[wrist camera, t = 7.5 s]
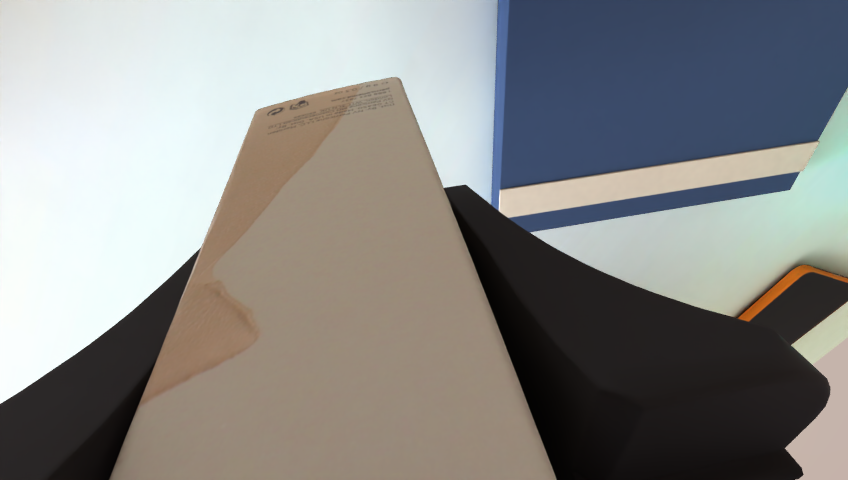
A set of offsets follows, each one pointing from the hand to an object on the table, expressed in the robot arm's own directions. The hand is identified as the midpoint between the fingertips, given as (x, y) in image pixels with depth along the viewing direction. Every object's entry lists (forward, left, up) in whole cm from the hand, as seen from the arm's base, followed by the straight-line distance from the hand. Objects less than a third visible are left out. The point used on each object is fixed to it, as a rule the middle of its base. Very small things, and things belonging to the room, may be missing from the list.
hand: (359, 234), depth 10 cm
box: (0, 0, -4) cm, 4 cm away
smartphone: (-23, -27, -8) cm, 36 cm away
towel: (0, -14, -8) cm, 16 cm away
